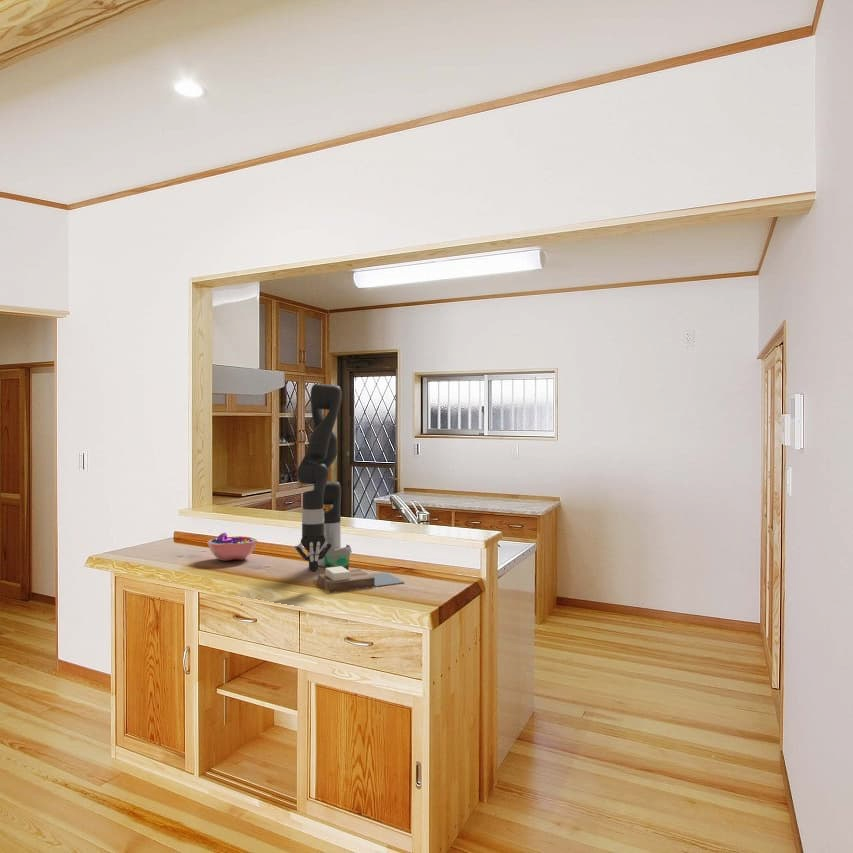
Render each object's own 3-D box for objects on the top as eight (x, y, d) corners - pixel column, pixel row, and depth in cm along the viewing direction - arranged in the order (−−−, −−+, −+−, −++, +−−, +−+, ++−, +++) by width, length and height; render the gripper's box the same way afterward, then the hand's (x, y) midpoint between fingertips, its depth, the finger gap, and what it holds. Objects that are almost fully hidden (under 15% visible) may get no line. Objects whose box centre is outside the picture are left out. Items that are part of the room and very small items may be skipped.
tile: (325, 574, 223) (325, 567, 222) (341, 573, 225) (341, 566, 225) (333, 580, 214) (333, 573, 214) (350, 578, 217) (350, 571, 217)
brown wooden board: (318, 582, 224) (317, 574, 224) (360, 577, 231) (360, 569, 231) (330, 592, 211) (330, 583, 211) (374, 586, 219) (374, 577, 219)
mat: (359, 576, 232) (359, 575, 232) (386, 573, 237) (386, 572, 237) (375, 587, 218) (375, 585, 218) (404, 583, 223) (404, 582, 223)
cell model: (250, 565, 250) (250, 536, 250) (200, 564, 251) (200, 536, 250) (262, 555, 267) (262, 529, 267) (215, 555, 268) (215, 529, 267)
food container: (333, 579, 228) (333, 551, 228) (322, 576, 232) (322, 549, 232) (358, 572, 238) (358, 546, 238) (347, 570, 242) (347, 544, 242)
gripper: (328, 518, 222) (328, 567, 222) (291, 521, 216) (291, 571, 216) (335, 521, 215) (335, 572, 215) (297, 524, 209) (297, 576, 209)
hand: (313, 571), depth 215 cm, fingers closed
